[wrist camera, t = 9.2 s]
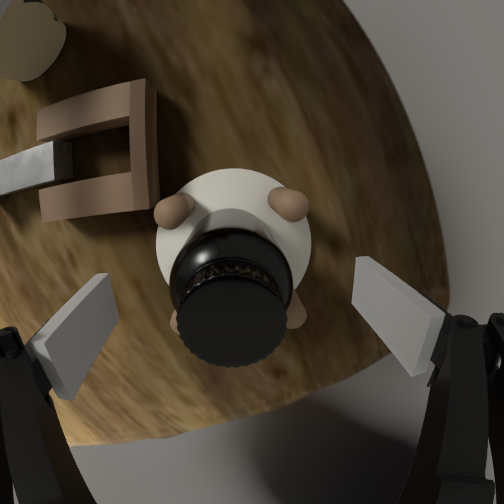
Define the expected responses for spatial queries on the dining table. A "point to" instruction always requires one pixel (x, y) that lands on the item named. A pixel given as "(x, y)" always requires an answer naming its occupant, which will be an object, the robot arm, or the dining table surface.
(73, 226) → the dining table surface
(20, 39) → the coffee cup
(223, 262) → the supplement bottle
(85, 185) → the slot block
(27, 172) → the pin
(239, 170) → the peg rack
